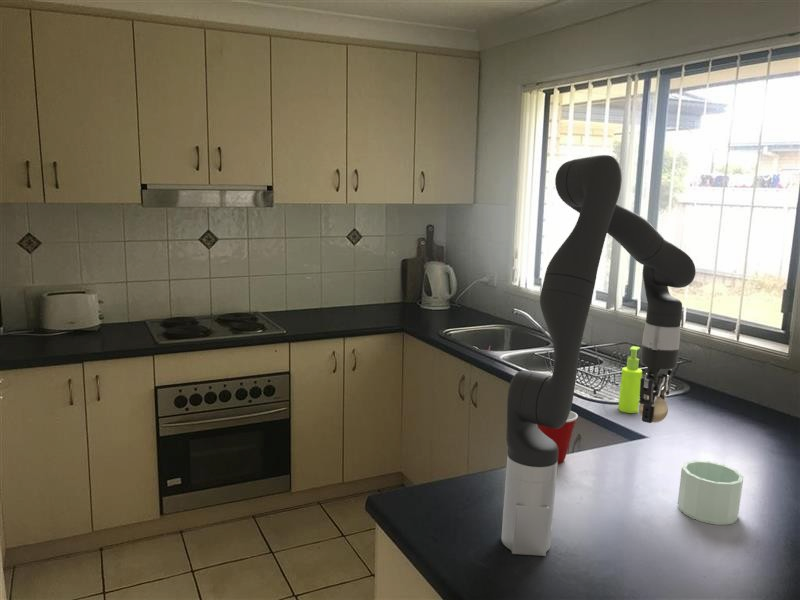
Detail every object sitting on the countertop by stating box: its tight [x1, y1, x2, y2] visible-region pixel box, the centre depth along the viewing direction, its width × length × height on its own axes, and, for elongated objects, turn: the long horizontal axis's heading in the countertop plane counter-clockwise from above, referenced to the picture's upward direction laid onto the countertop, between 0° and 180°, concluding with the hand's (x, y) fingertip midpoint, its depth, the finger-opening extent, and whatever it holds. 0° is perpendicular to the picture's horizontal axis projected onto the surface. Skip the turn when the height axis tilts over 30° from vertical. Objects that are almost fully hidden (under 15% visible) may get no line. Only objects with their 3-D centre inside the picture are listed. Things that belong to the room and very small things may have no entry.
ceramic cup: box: [677, 460, 745, 526], centre depth 142 cm, size 12×12×9 cm
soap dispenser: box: [617, 345, 643, 414], centre depth 207 cm, size 6×7×20 cm
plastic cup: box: [536, 410, 579, 464], centre depth 167 cm, size 11×11×12 cm
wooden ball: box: [638, 396, 669, 424], centre depth 148 cm, size 6×6×6 cm
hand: (652, 418), depth 149 cm, fingers closed on wooden ball, 6 cm apart
